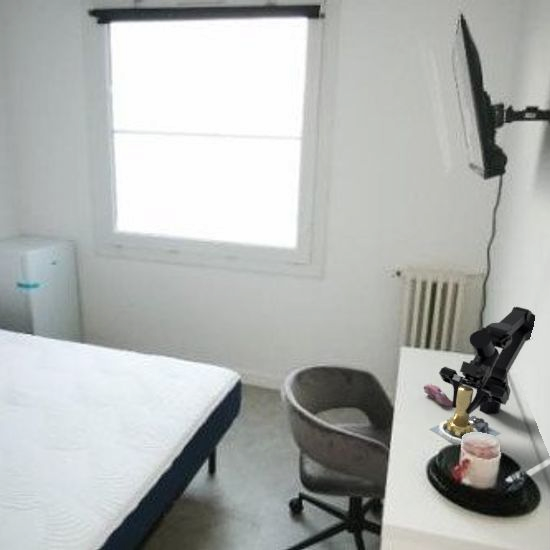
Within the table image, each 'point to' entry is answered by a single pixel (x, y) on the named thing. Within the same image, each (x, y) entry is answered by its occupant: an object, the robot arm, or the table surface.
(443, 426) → the gear board
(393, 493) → the table surface
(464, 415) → the brass gear
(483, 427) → the fixed gear
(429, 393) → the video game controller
